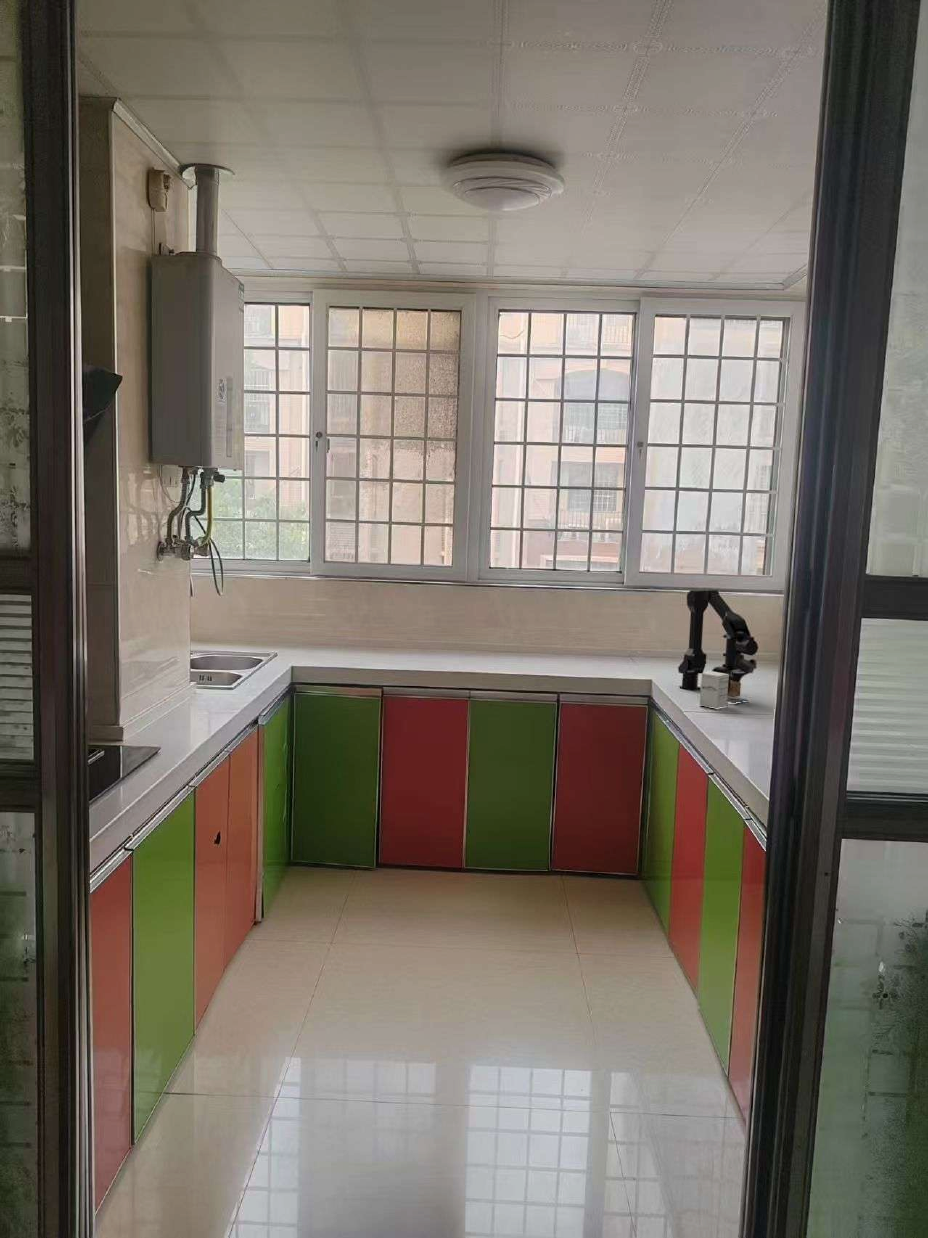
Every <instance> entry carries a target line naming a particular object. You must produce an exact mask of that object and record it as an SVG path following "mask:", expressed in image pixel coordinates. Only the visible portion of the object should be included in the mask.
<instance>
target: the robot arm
mask: <svg viewBox="0 0 928 1238" xmlns="http://www.w3.org/2000/svg"><path fill="white" fill-rule="evenodd" d="M686 605H687V608H688V610H689V611H690V618H689V622H690V623H689V638H688V649H687V650H686V652H685V653H684V656H683V660H682V662H681V663H680V665H678V666H677V669H678V673H679V674H682V678H681V679H682V680H681V685H679V686H678V688H679V687H680V688H679V689H684V688H687V689H686V690H689V689H691V690H690V691H694V690H693V689H695V690H699V689H698V688H700V689H701V686H698V685H699V674H700V675H702V673H704V670H705V668H706V664H707V653H704V651H703V647H702V645H703V629H704V613H705V611H706V610H707V609H708V607H709V605H710V606H711V607H712V608H713V610H714V611H715V613H716V614H717V615H718V616H719V618H720V619H721V626H722V627H723V630H724V631H725V634H724V635H722V637H723V638H724V639H726V640H725V641H726V643H725V652H723V653H722V654H723V655H722V656H723V657H724V663H722V665H721V666H714V667H713V668H712V671H713V672H719V673H724V674H729V680H728V693H729V689H730V682H731V681H734V682H740V683H741V681H742V679H743V678H744V677H745V676H747V675H749V674H753V673H754V670H756V669H757V660H755V659H753V658H751V659H745V655H747V656H754V655H756V653H757V652H758V649H759V646H758V643H757V641H755V637H754V636H751V631H750V629H749V626H748V624H747V621H746V620H745V619H744V618H743V617H742V616H741V615H740V614H738V613H736V612H734V611H733V610H732V608H731V607H730V606H729V605H728V603H727V602H726V601H725V600H724V598H722V596H721V595H720V592H719V590H717V589H701V590H700V589H691V590H689V592H687V593H686Z"/></svg>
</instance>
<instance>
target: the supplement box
mask: <svg viewBox="0 0 928 1238" xmlns="http://www.w3.org/2000/svg"><path fill="white" fill-rule="evenodd" d="M700 678H701V682H700V687H701V688H700V692H699V693H700V695H699V706H700V705H701V706H706V707H714V708H719V707H724V706H726V707H727V706H728V704H727V694H728V680H729V674H724V673H719V672H713V671H711V670H709V671H705V672H703V673H702V674H701V677H700ZM706 707H705V708H706Z"/></svg>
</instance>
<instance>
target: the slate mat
mask: <svg viewBox="0 0 928 1238" xmlns="http://www.w3.org/2000/svg"><path fill="white" fill-rule="evenodd" d="M743 701H748V702H749V699H747V698H742V697H738V696H737V697H729V696H727V702H731V703H736V702H743Z"/></svg>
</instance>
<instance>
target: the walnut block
mask: <svg viewBox="0 0 928 1238" xmlns="http://www.w3.org/2000/svg"><path fill="white" fill-rule="evenodd" d="M741 687H742V682H741V681H740V682H734V681H731V682H730V689H729V693H728V694H727V696H729V697H737V698H738V697H740V696H741V690H742V689H741Z"/></svg>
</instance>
